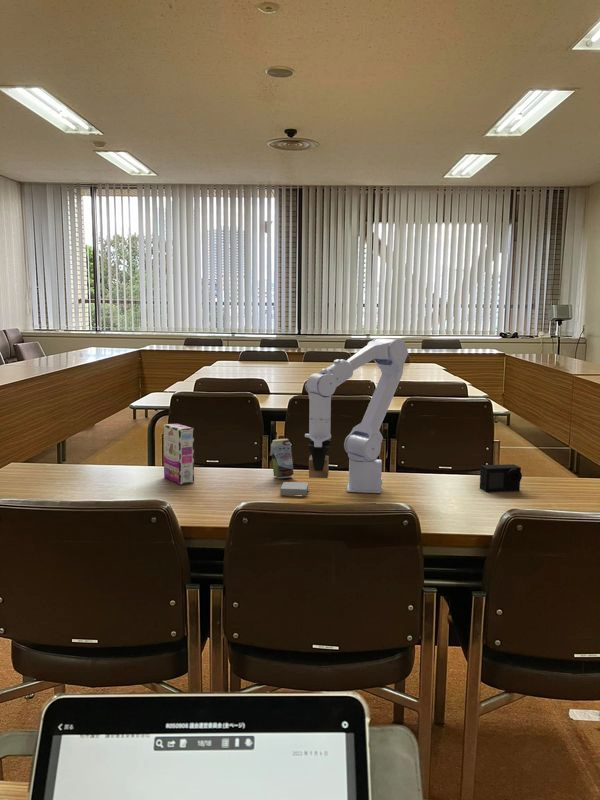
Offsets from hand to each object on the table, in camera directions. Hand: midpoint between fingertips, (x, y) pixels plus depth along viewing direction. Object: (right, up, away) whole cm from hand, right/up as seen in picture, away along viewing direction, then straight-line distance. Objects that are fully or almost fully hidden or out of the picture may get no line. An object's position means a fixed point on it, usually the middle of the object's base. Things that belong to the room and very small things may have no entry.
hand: (319, 468), depth 175 cm
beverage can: (-11, -5, +21) cm, 25 cm away
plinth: (-7, -7, +5) cm, 11 cm away
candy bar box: (-41, -6, +17) cm, 45 cm away
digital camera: (+52, -8, +10) cm, 54 cm away
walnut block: (0, -2, 0) cm, 2 cm away
